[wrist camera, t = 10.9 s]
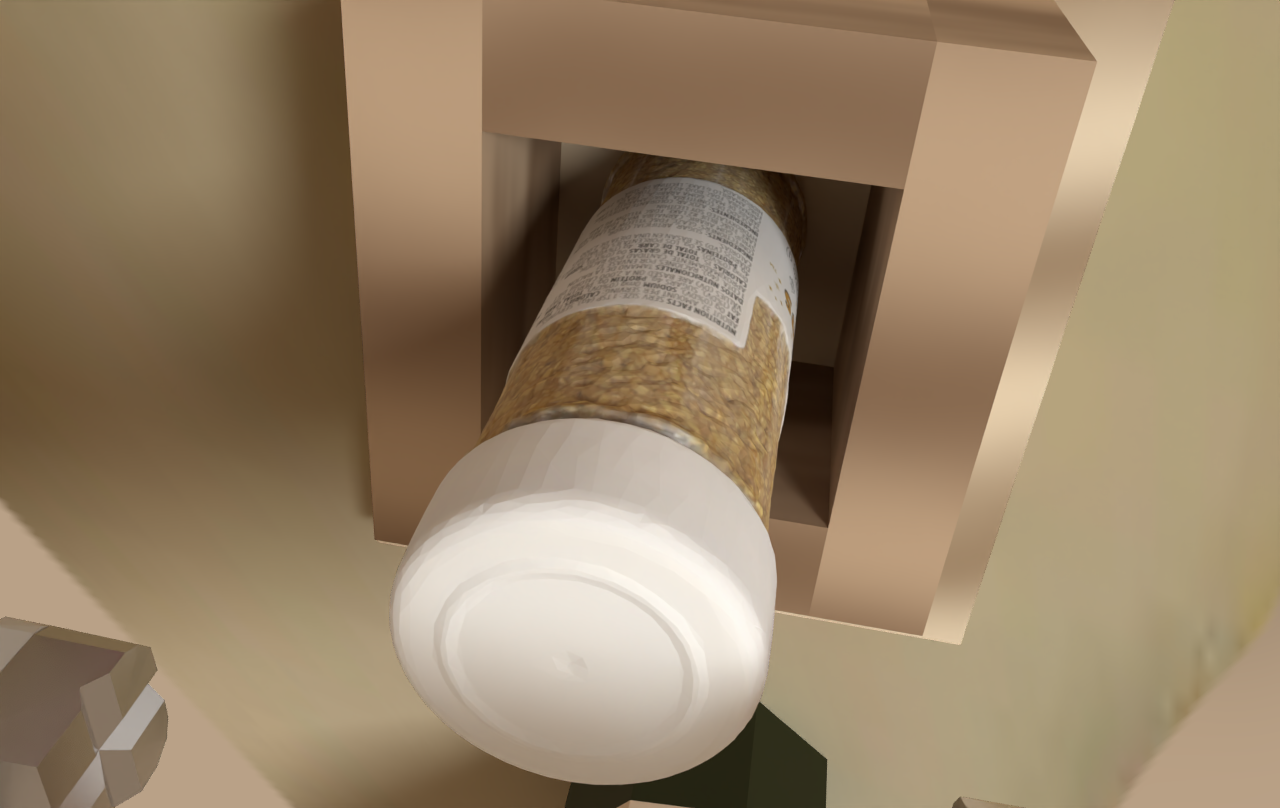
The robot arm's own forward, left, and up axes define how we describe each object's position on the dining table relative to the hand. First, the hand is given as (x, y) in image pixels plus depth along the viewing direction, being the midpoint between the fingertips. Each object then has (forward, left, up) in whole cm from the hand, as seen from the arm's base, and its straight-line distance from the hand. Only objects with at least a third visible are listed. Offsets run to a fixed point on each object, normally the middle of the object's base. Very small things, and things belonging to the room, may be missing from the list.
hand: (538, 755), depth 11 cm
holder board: (0, 0, -17) cm, 17 cm away
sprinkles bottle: (0, 0, -15) cm, 15 cm away
